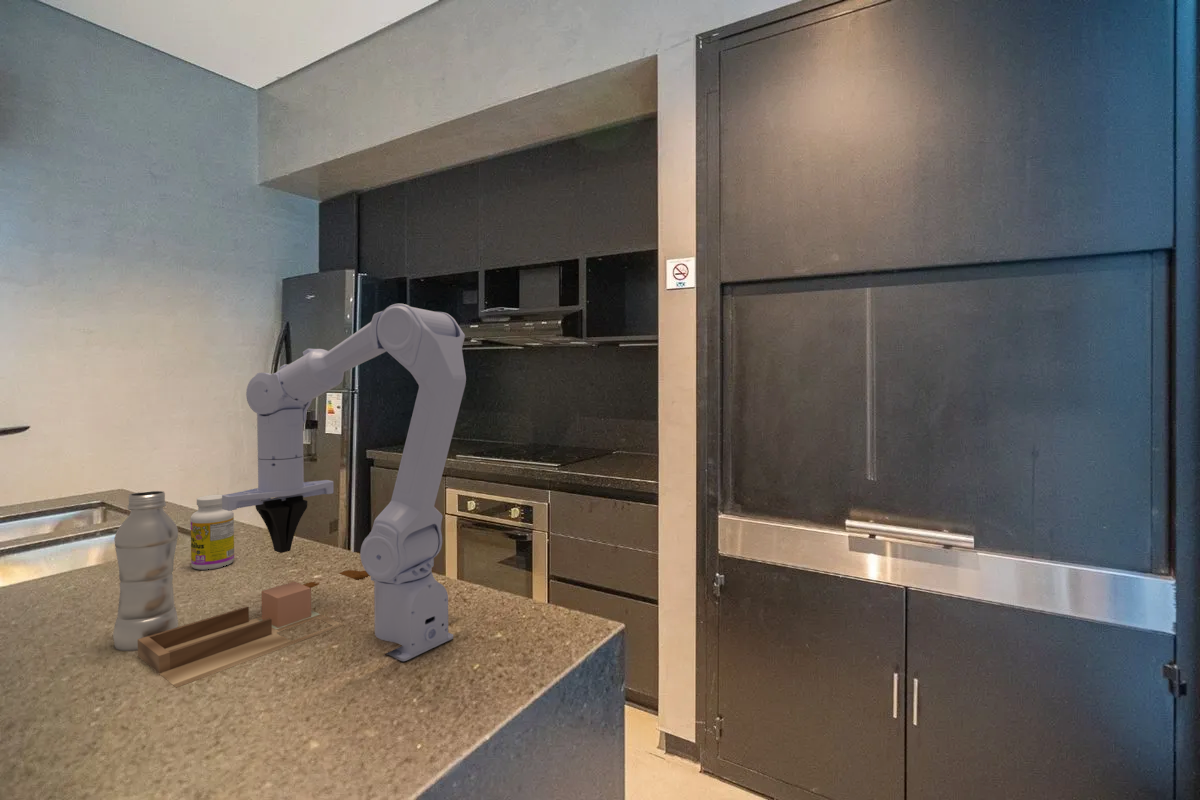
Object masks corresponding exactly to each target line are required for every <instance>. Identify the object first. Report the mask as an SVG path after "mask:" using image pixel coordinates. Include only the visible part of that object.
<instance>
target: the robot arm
mask: <svg viewBox="0 0 1200 800" xmlns="http://www.w3.org/2000/svg"><path fill="white" fill-rule="evenodd" d="M465 339H466V334H465V333H464V331H463V330H462V328H461V326H460V325H459V324H458V322H457V321H456V319H455V318H454V317H453V316H452V315H450V314H449V313H447V312H444V311H433V310H428V309H423V308H418V307H414V306H410V305H408V304H406V303H405V304H404V303H394V304H391V305H389V306H387V307H386V308H385V309H383V310H381V311H378V312H375V313H374V314H373V315H372V319H371V321H370V322H368V323H367V324H365V325H364V326H363V327H361V328H360V329H358V330H357V331H356V332H354V333H353V334H351V335H350V336H348V337H347V338H345V339H344V340H342V341H341V342H340V343H338V344H336V345H335V346H333V348H331V349H329V350H327V349H323V348H306V349H305V350H304V351H302V356H301V357H299V358H297V359H296V360H294V361H293V362H290V363H288V364H287V363H286V364H282V365H281V366H280V367H279V370H277V371H276V372H273V373H271V372H270V373H269V372H257V373H256V374H255V375H254V376H253V377H252V378H251V379H250V380H249V382H248V384H247V387H246V393H245V396H246V401H247V404H248V406H249V407H250V409H251V410H252V411H253V412H254V413H256V421H257V424H256V426H257V428H256V429H257V430H256V431H257V437H256V439H257V484H258V485H257V486H258V487H257V488H251V489H247V490H242V491H238V492H231V493H227V494H226V493H225V494H221V495H222V509H224V510H227V511H231V510H232V511H236V510H238V509H243V508H247V507H249V508H250V507H254V506H255V509H256V512H257V513H258V514H259V516H260V517H261V518H262V520H263V522H264V524H265V526H266V529H267V530H268V533H269V535H270V539H271V542H272V546H273V551H274V552H277V553H280V554H283V553H288V552H290V551H291V549H292V544H293V541H294V536H295V535H296V530H297V527H298V525H299V524H300V521H301V519H302V518H303V515H304V513H305V512H306V510H307V509H308V500H306V499H304V498H307V497H314V496H321V495H331V494H334V491H335V490H334V487H335V486H334V480H329V479H323V480H313V481H305V480H304V479H305V478H304V476H305V475H304V472H305V471H304V466H305V465H304V462H305V461H304V424H305V423H306V421H307V412H308V410H309V408H310V406H311V405H312V402H313V400H314V399H315V398H318V397H320V396H322V395H323V394H325V393H327V392H329V391H330V390H332V389H334V388H336V387H338V386H339V385H340V384H341V383H342V382H343V380H344V377H345V372H347V371H349V370H351V369H354V368H355V367H357V366H359V365H361V364H363V363H365V362H367V361H370V360H372V359H375V358H376V357H378V356H380V355H382V354H384V353H388V354H389V355H390V356H391V357H392V358H393V359H395V360H396V361H397V362H398V363H399V364H400V365H402V367H404V369H406V370H407V372H409V373H410V374H411V375H412V377H413V378H414V380H415V381H416V383H417V384H418V390H417V394H416V398H415V402H414V406H413V411H412V416H411V418H410V421H409V427H408V431H407V436H406V439H405V443H404V445H403V446H404V447H403V449H402V450H403V451H402V454H401V458H400V459H401V460H400V463H399V466H398V467H399V468H398V470H397V471H398V472H397V475H396V479H395V483H394V488H393V491H392V495H391V499H390V501H389V503H388V504H387V505H386V506H385V507H384V509H383V510H382V511H381V512H380V513H379V514H378V515H377V516H376V517H375V519H374V521H373V526H372V528H371V531H370V532H369V534H368V535H367V536H366V537H365V538H364V540H363V541H362V544H361V546H360V551H359V553H360V561H361V562H360V563H361V564H362V567H363V568H364V569H363V570H364V571H366V572H367V573H368V574H369V575H370V576H369V577H370V581H372V582H373V583H374V587H373V588H374V590H373V593H374V636H375V637H376V638H377V639H378V640H381V641H386V642H391V643H395V644H398V645H401V646H399V647H397V648H394V649H393V650H390V651H388V652H386V653H385V655H388V656H390V657H392V658H393V659H394V658H395V659H396V660H399V661H401V662H406V661H409V660H411V659H413V658H415V657H417V656H419V655H421V654H423V653H426V652H428V651H430V650H432V649H433V648H436V647H438V646H440V645H443V644H444V643H446V642H449V641H451V640H453V639H454V634H453V633H451V632H449V595H448V591H447V588H445V586H444V585H443V584H442V583H440V582H439V581H437V580H436V578H435V577H434V574H433V572H432V571H433V569H432V568H433V567H434V566H435V565H434V564H435V563H434V562H435V559H434V558H436V557H437V556H438V555H439V554H440V552H441V550H442V547H443V546H442V545H443V534H442V521H443V517H444V516H443V514H442V512H440V510H438V509H437V508H436V507H435V504H436V500H437V497H438V493H439V488H440V485H441V482H442V478H443V473H444V469H445V467H446V466H445V465H446V461H447V458H448V455H449V450H450V446H451V442H452V438H453V435H454V431H455V426H456V423H457V419H458V415H459V411H460V407H461V403H462V399H463V396H464V393H465V388H466V384H467V382H466V381H467V376H466V375H467V374H466V367H465V362H464V361H465V360H464V353H463V345H464V341H465Z"/></svg>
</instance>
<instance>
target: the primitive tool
mask: <svg viewBox="0 0 1200 800" xmlns="http://www.w3.org/2000/svg"><path fill="white" fill-rule="evenodd" d="M338 574H339V575H341V576H344V577H347V578H350V579H352V580H356V581H359V579H360V580H364V579H365V577H366V578H368V576H369V577H371V576H370V575H369V574H368V573H367V572H366V571H365V570H355V569H349V570H343V571H341V572H338ZM363 578H364V579H363ZM302 585H304V586H307V587H309V588H311V589H312V588H314V587H317V586H318V585H320V582H316V581H310V582H306V583H304V584H302Z"/></svg>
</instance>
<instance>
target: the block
mask: <svg viewBox="0 0 1200 800" xmlns="http://www.w3.org/2000/svg"><path fill="white" fill-rule="evenodd" d="M260 591H261V616H262V620H266V619H269V618H270V619H272V625H273V626H275V627H277V628H279V627H282V626H285V625H288V624H291V623H294V622H296V621H299V620H302V619H305V618H308V617H311V610H312V588H309V587H307V586H304V585H303V584H302V583H299V582H298V581H297V582H296V581H292V582H288V583H285V584H281V585H278V586H274V587H271V588H268V589H264V590H260Z"/></svg>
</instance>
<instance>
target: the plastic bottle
mask: <svg viewBox="0 0 1200 800" xmlns="http://www.w3.org/2000/svg"><path fill="white" fill-rule="evenodd" d="M166 503H167V502H166V493H165V491H163V490H150V491H140V492H133V493H130V494H128V505H127V510H128V511H130V513H129V515H128V516H127V518H126V519H124V521H123V522H122V523H121V525H120V526H119V527H118V529H117V531H116V533H115V536H114V547H115V554H116V560H117V565H118V578H119V579H118V580H119V598H118V607H117V615H116V616H117V617H116V619H115V623H114V628H113V633H112V638H113V639H112V640H113V644H114V648H115V649H116V650H118V651H122V652H123V651H125V652H130V651H138V639H140V638H144V637H147V636H150V635H154V634H157V633H160V632H164V631H167V630H170V629H174V628H177V627H179V618H178V613H177V609H176V606H175V597H174V587H173V580H174V579H173V578H174V575H173V573H174V565H175V564H174V561H175V554H176V549H177V543H178V537H179V536H178V535H179V529H178V526H177V524H176V523H175V521H174V520H173V518H172V517H171V516H169V515H168V514H167V512H165V511H164V507H166V506H167V504H166Z"/></svg>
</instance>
